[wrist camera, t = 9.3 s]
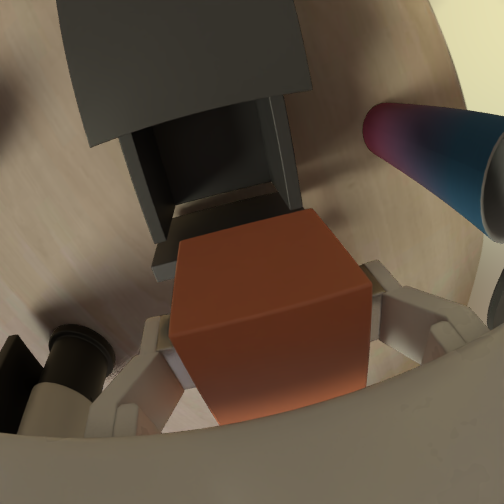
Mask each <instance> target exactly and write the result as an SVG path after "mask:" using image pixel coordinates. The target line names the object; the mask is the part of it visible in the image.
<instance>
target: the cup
mask: <svg viewBox="0 0 504 504" xmlns="http://www.w3.org/2000/svg"><path fill="white" fill-rule="evenodd" d="M363 138H364V141H365V143H366V145H367V147H368V148H369V150H370V151H371V152H373V153H374V154H375V155H377V156H378V157H380V158H382V159H383V160H385V161H386V162H388V163H389V164H391V165H392V166H394V167H396V168H397V169H399V170H400V171H402V172H403V173H405V174H406V175H408V176H409V177H411V178H412V179H413V180H415V181H416V182H418V183H419V184H421V185H422V186H423V187H425V188H426V189H428V190H429V191H430V192H432V193H433V194H435V195H436V196H437V197H439V198H440V199H441V200H443V201H444V202H445V203H447V204H448V205H449V206H451V207H452V208H453V209H455V210H456V211H457V212H458V213H460V214H461V215H462V216H463V217H465V218H466V219H467V220H468V221H470V222H471V223H472V224H473V225H475V226H476V227H477V228H478V229H479V230H481V231H482V232H483V233H484V234H485V235H486V236H488V237H489V238H490V239H492V240H493V241H494V242H497V243H501V244H503V243H504V116H499V115H494V114H488V113H482V112H476V111H469V110H462V109H455V108H446V107H437V106H427V105H414V104H399V103H381V104H378V105H376V106H375V107H373V108H372V109H371V110H370V111H369V112H368V114H367V115H366V117H365V119H364V123H363Z"/></svg>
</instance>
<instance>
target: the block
mask: <svg viewBox="0 0 504 504" xmlns="http://www.w3.org/2000/svg"><path fill="white" fill-rule="evenodd" d="M371 317H372V282H371V281H370V280H369V278H368V277H367V276H366V274H365V273H364V272H363V270H362V269H361V268H360V267H359V265H358V264H357V263H356V262H355V260H354V259H353V258H352V256H351V255H350V254H349V253H348V251H347V250H346V249H345V248H344V246H343V245H342V244H341V243H340V241H339V240H338V239H337V238H336V236H335V235H334V234H333V233H332V232H331V230H330V229H329V228H328V227H327V225H326V224H325V223H324V222H323V221H322V219H321V218H320V217H319V216H318V215H317V213H316V212H315V211H314V210H313V209H311V208H310V209H306V210H301V211H297V212H293V213H289V214H285V215H281V216H276V217H272V218H268V219H264V220H260V221H256V222H252V223H248V224H244V225H240V226H236V227H232V228H228V229H224V230H220V231H217V232H213V233H209V234H205V235H201V236H197V237H194V238H190V239H186V240H182V241H180V242H179V249H178V256H177V264H176V271H175V279H174V288H173V296H172V305H171V314H170V324H169V335H168V337H169V339H170V340H171V342H172V344H173V346H174V348H175V350H176V352H177V354H178V355H179V357H180V359H181V361H182V363H183V365H184V366H185V368H186V370H187V372H188V374H189V375H190V377H191V379H192V381H193V382H194V384H195V386H196V388H197V389H198V391H199V393H200V394H201V396H202V398H203V399H204V401H205V403H206V404H207V406H208V408H209V409H210V411H211V413H212V414H213V416H214V417H215V419H216V421H217V422H218V424H219V425H220V426H221V425H226V424H232V423H237V422H242V421H247V420H252V419H257V418H261V417H266V416H270V415H274V414H278V413H282V412H286V411H290V410H294V409H298V408H302V407H305V406H309V405H312V404H316V403H319V402H323V401H326V400H329V399H332V398H336V397H339V396H342V395H345V394H348V393H351V392H354V391H357V390H360V389H362V388H365V387H366V383H367V373H368V362H369V350H370V335H371Z"/></svg>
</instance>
